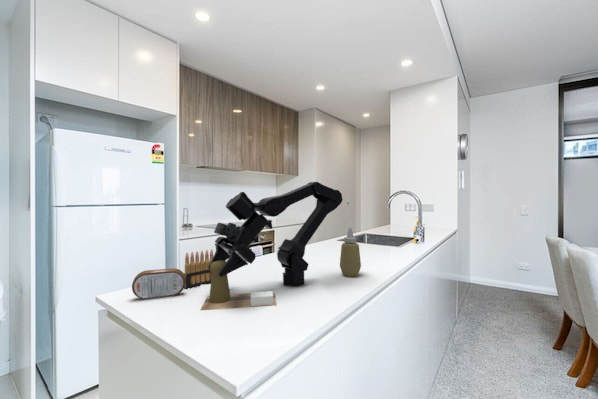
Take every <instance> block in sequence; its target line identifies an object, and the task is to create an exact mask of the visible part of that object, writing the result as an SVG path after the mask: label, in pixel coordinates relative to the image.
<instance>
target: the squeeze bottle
mask: <svg viewBox="0 0 598 399" xmlns="http://www.w3.org/2000/svg"><path fill="white" fill-rule="evenodd" d="M353 232H354V231H353V228H351V227H348V228H347V234H346V236H345V237H344V238H343V243H342V244H341V248H340V257H339V267H340V270H341V273H342V275H343V276H344V277H350V278H353V277H357V276H359V274H360V270H361V267H362V262H361V253H360V244H358V243H357V237H355V236H354V233H353Z"/></svg>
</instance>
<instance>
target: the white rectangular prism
mask: <svg viewBox="0 0 598 399" xmlns="http://www.w3.org/2000/svg"><path fill="white" fill-rule="evenodd" d="M273 292H274V291H272V290H270V291H268V290H267V291H252V292H250V293H251V306H261V307H264V306H263V305H273Z"/></svg>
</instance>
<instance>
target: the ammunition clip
mask: <svg viewBox="0 0 598 399" xmlns="http://www.w3.org/2000/svg"><path fill="white" fill-rule="evenodd" d="M213 257H214V251H213V249H210V252H209V251H208V249H206V250H205V254H204V251H203V250H201V251H200V253H199V251H198V250H197V251H196V253H195V254H194V252H193V251H191V253H190V258H189V254H188V252H186V254H185V258H184V260H185V261H184V272H183V273H184V274H185V276H186V284H185V287H184V289H186V290H189V289H188V288H190V289H193V288H192V287H194V288H197V286H198V287H201V285H203V286H204V285H211V279H212V273H211V271H210V269H209V268H208V267H209V265H210V263H211V261H212V259H213Z"/></svg>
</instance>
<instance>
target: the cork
mask: <svg viewBox="0 0 598 399" xmlns="http://www.w3.org/2000/svg"><path fill="white" fill-rule="evenodd" d="M226 262H227V260H225V261H214V262H212V263H211V265H210V271H211V273H212V279H211V284H210V290H209V295H208V296H209V302H211V303H224V302H227V301H229V300H230V299H231V297H230V294H231V292H230V285H229V278H228V274H226V275H225V276H223V277H220V276H219V275H218V274H219V272H220V271H221V269H222V268H223V266H224V265H225V263H226Z"/></svg>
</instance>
